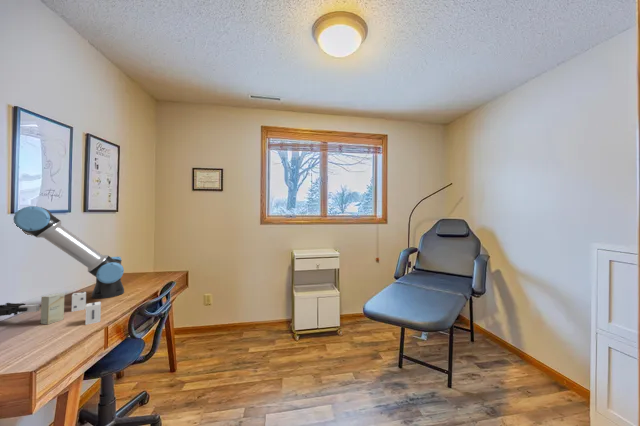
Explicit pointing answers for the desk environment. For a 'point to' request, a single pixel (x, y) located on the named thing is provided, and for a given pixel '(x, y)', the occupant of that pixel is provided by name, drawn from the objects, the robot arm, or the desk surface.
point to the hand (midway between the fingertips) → (37, 308)
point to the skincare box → (52, 308)
